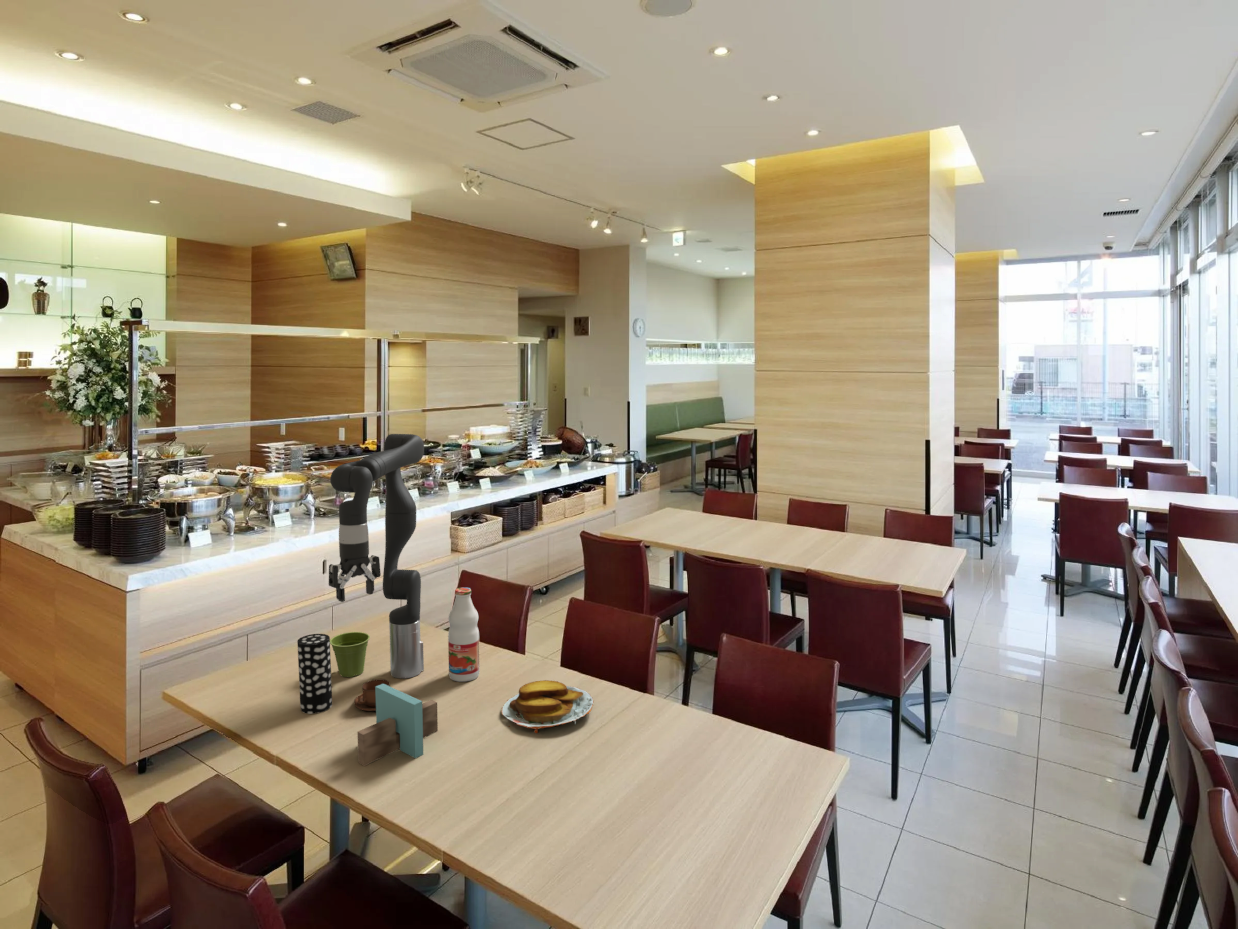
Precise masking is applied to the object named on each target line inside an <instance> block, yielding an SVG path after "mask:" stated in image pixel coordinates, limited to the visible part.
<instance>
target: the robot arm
mask: <svg viewBox="0 0 1238 929" xmlns="http://www.w3.org/2000/svg"><path fill="white" fill-rule="evenodd" d="M424 444H425V443H424V441H423V438H422V437H420V436H419V435H417V434H412V433H410V434H409V433H390V434H388V435H386V437H385V439H384V444H383V450H381V451H377V452H374V453H370V454H368V455H367V456H365V457H362V458H361V459H360V460H356V461H351V462H346V463H342V464H341V465H338V466H337V467H335V468H334V469H333V471H332V472H331V474H330V479H329V481H330V485H331V486H332V488H333V489H334V490H335V491H336V492H341V493H353V494H354V495H353V498H352V499H351V500H350V499H349V500H345V501H342V502H340V504H339V506H338V520H339V524H338V525H339V526H338V547H339V548H338V549H339V550H338V551H339V559H340V562H339V564H332V563H330V564H329V565H328V586H329V587H331V588H334V589H335V595H336V596H335V597H336V600H338V602H340V603H344V602H345V601H346V591H345V586H346V584H347V583H348V582H349V581H350V580H351V578H355V577H358V576H359V577H360V576H364V577H365V579H366V580H365V593H366V595H367V594H368V595H373V594H374V591H375V581H376V579H377V578H380V577H381V564H380V557H379V556H377V555H373V554H371V555H370V542H369V540H370V539H369V527H368V515H367V514H368V513H367V512H368V511H367V510H368V509H367V508H368V503H369V498H370V494H371V490H372V486H373V483H374V482H375V481H377V480H379V479H381V478H382V477H383V476H385V478H384V479H385V507H384V508H385V511H384V512H385V513H384V515H385V516H384V517H385V518H384V524H385V525H384V527H385V529H384V530H385V532H384V533H385V535H384V536H385V539H384V540H385V544H384V545H385V546H384V547H385V550H384V553H385V554H384V562H383V574H382V593H383V596H384V598H386V599H387V600H399V601H401V600H402V601H403V600H404V601H406V604H404V605H402V606H399V607H397V608H394V609H392V610H391V611H389V615H388V622H389V654H390V655H389V656H390V658H389V659H390V661H389V662H390V676H391V677H393V678H395V679H409V678H413V677H416V676H418V675H420V673H421V672H422V671H424V670H425V667H424V666H425V664H424V662H425V661H424V659H425V658H424V642H423V641H422V640H421V594H422V593H421V592H422V579H421V578H422V577H421V574H420V572H419V571H418V570H417V569H399V568H398V564H399V559H400V556H401V554H402V552H403V550H404V548H405V547H406V545H407V543H408V542H409V540H410V539H411V537H412V536H413V534H414V532H415V531H416V529H417V528H416V527H417V506H416V502H415V500H414V498H413V496H412V495H411V493H410V491H409V489H408V488H407V487H406V484H405V482H404V480H403V477H402V471H401V468H404V467H407V466H409V465H413V464H417V463H419V462H420V461H421V460H422V459H423V457H424V454H425V445H424ZM369 555H370V556H369ZM369 565H370V568H371V570H370V569H369ZM340 570H341V572H340ZM339 572H340V573H339Z"/></svg>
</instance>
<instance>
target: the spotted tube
mask: <svg viewBox="0 0 1238 929" xmlns="http://www.w3.org/2000/svg"><path fill="white" fill-rule="evenodd" d="M330 640H331V638H330V635H329V634H325V633H312V634H307V635H304V636H301V637H299V639H297V640H296V641H297V658H298V659H297V660H298V661H297V663H298V664H297V665H298V680H299V681H298V682H299V683H298V684H299V701H300V703H299V707H300V712H301V713H304V714H308V715H312V714H320V713H324V712H326V711H328V710H329V709H331V708H332V707H333V688H332V687H333V686H332V685H333V684H332V683H333V682H332V666H331V665H332V661H331V644H330Z"/></svg>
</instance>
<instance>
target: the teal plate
mask: <svg viewBox="0 0 1238 929" xmlns="http://www.w3.org/2000/svg"><path fill="white" fill-rule="evenodd" d="M375 693H376V711H375V716H376V718H375V719H376V722H375V724H376V723H378V722H381V721H383V720H385V719H388V718H391V719H393V720H395V722H396V732H398V733H400V749H399V750H400V751H401V752H402V753H404V754H406V755H408V756H410V757H412V758H414V759H417V758H419V757H422V756H423V755H424V738H423V715H422V704H423V700H420V699H418V698H416V697H413V696H411V695H410V694H408V693H406V692H403V691H401V690H399V689H396V688H394V687H392V686H390V685H389V686H388V685H386V684H381V685H378V686H376V687H375Z"/></svg>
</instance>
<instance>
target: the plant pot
mask: <svg viewBox="0 0 1238 929" xmlns="http://www.w3.org/2000/svg"><path fill="white" fill-rule="evenodd" d="M370 639H371V635H370V634H369V633H366V632H362V631H350V632H343V633H340V634H337V635H335V636H333V637H332V638H330V646H331V647H332V650H333V652H334V656H335V662H336V665H337V666H336V667H337V669H338V670H337V671H338V672H339V673H338V674H339V675H340V676H341V677H343V678H354V677H355V676H359V675H362V674H363V673H364V671H365V664H366V663H365V662H366V655H367V648H368V645H369V640H370Z"/></svg>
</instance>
